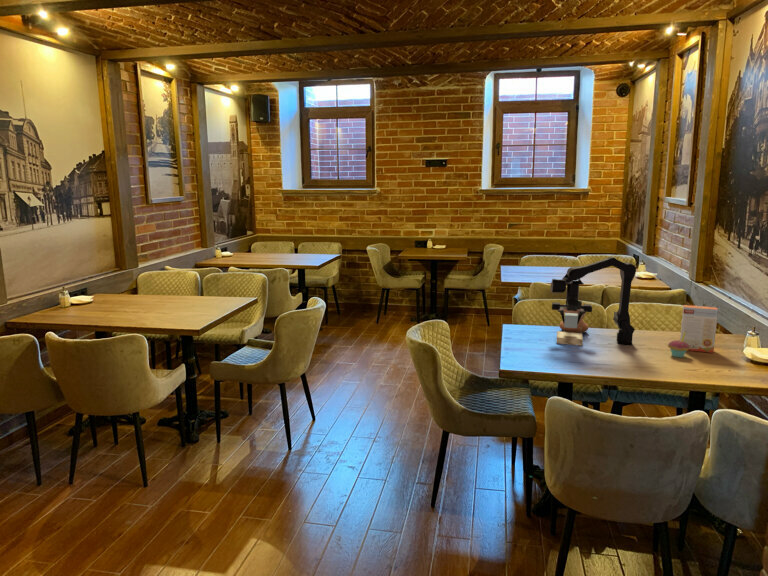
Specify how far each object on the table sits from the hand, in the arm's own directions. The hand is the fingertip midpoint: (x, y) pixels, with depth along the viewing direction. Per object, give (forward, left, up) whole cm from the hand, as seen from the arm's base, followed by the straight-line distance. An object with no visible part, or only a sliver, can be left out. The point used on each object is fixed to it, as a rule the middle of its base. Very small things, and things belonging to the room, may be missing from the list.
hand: (570, 324), depth 276 cm
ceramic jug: (-2, -20, -9) cm, 22 cm away
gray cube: (0, 0, -1) cm, 1 cm away
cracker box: (-57, -3, -9) cm, 58 cm away
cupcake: (-47, +10, -9) cm, 49 cm away
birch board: (0, 0, -9) cm, 9 cm away
